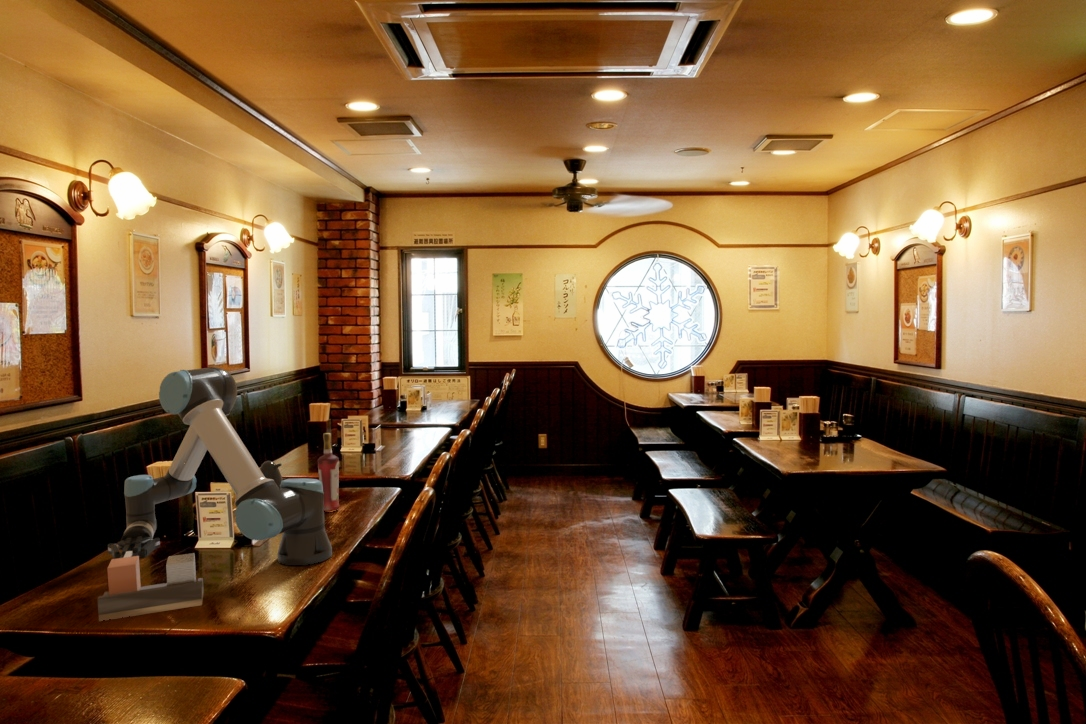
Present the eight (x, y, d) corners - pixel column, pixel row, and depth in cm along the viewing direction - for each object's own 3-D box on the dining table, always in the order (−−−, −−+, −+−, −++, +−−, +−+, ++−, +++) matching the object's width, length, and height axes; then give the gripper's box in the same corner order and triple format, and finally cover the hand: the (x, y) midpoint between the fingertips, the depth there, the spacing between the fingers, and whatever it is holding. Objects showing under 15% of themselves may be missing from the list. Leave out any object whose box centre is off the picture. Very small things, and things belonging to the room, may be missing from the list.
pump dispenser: (275, 504, 275) (273, 464, 274) (250, 503, 277) (248, 463, 276) (290, 497, 285) (288, 458, 284) (265, 496, 287) (263, 457, 286)
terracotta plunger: (113, 594, 186) (111, 559, 185) (140, 590, 188) (138, 555, 187) (109, 604, 179) (107, 568, 178) (137, 600, 181) (135, 564, 181)
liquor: (323, 508, 268) (320, 431, 266) (343, 507, 268) (340, 431, 266) (316, 513, 261) (313, 435, 259) (337, 513, 261) (334, 435, 259)
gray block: (170, 591, 187) (168, 556, 186) (196, 587, 189) (194, 552, 189) (168, 601, 180) (166, 565, 180) (195, 596, 183) (193, 561, 182)
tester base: (105, 605, 182) (104, 584, 182) (203, 590, 191) (202, 570, 190) (99, 621, 173) (97, 598, 173) (202, 604, 182) (200, 583, 181)
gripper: (163, 547, 214) (155, 574, 192) (112, 554, 209) (98, 582, 187) (162, 522, 213) (154, 545, 191) (110, 528, 208) (96, 553, 186)
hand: (126, 563), depth 189 cm, fingers closed
